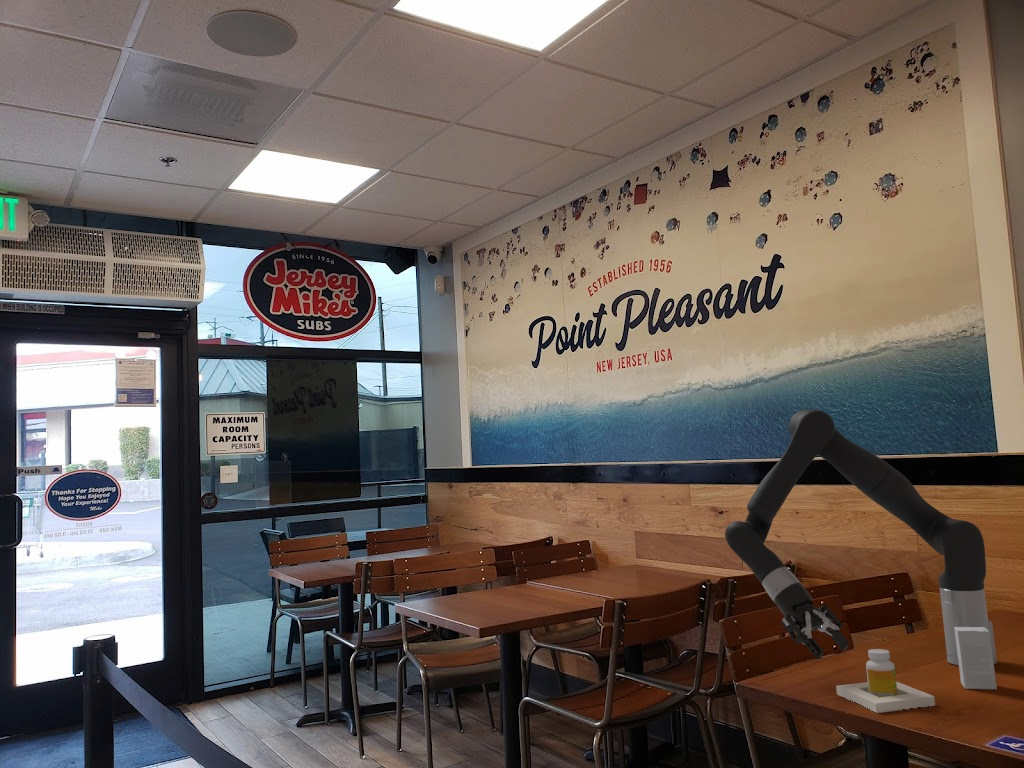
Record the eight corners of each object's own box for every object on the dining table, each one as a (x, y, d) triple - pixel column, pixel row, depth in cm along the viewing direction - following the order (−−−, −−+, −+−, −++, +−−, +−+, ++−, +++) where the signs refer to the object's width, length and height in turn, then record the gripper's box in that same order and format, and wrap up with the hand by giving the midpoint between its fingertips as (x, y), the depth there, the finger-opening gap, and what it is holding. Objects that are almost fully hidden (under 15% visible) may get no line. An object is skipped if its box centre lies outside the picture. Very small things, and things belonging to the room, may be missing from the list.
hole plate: (891, 688, 167) (890, 679, 167) (935, 705, 154) (934, 696, 154) (837, 694, 164) (836, 685, 164) (876, 713, 152) (875, 703, 152)
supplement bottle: (901, 703, 156) (896, 654, 157) (872, 703, 157) (867, 654, 158) (894, 695, 161) (889, 647, 162) (866, 695, 162) (861, 647, 164)
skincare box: (992, 684, 166) (985, 626, 167) (997, 690, 161) (990, 631, 163) (959, 683, 167) (953, 626, 169) (964, 689, 163) (957, 630, 165)
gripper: (773, 586, 175) (821, 648, 165) (815, 576, 182) (863, 635, 172) (757, 606, 179) (803, 668, 169) (798, 596, 187) (845, 655, 176)
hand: (833, 652), depth 170 cm, fingers open, 8 cm apart
